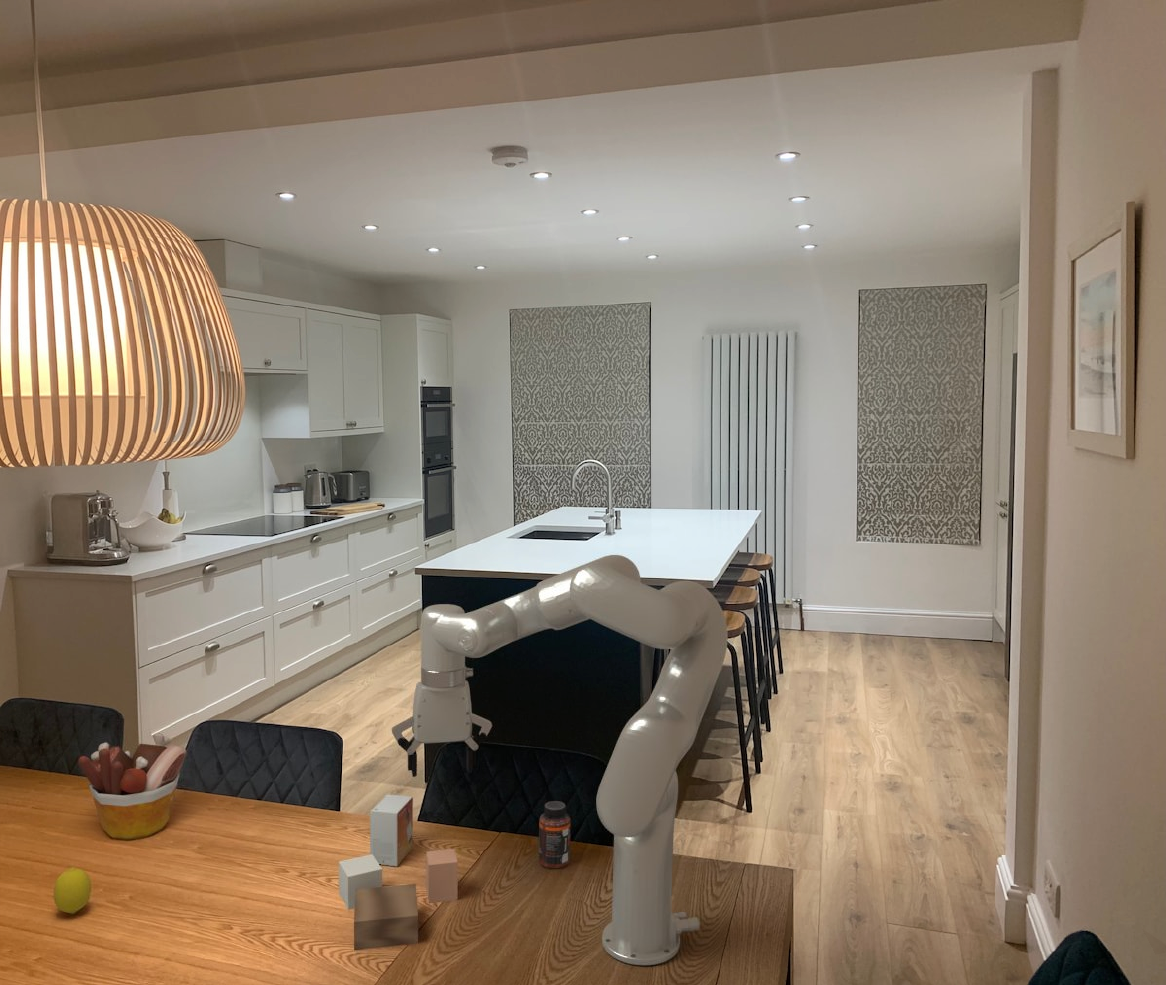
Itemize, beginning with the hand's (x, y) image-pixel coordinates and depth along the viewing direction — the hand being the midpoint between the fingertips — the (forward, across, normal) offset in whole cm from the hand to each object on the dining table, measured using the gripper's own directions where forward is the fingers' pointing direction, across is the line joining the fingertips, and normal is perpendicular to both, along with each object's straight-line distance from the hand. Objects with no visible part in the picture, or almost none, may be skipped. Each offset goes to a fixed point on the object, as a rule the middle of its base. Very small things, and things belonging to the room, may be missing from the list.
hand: (441, 771), depth 159 cm
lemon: (+23, +61, -7) cm, 65 cm away
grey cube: (+23, +14, -2) cm, 27 cm away
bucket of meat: (+23, +58, -38) cm, 73 cm away
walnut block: (+23, +10, +9) cm, 26 cm away
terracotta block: (+22, 0, 0) cm, 23 cm away
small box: (+23, +8, -16) cm, 29 cm away
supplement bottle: (+23, -22, -7) cm, 32 cm away
